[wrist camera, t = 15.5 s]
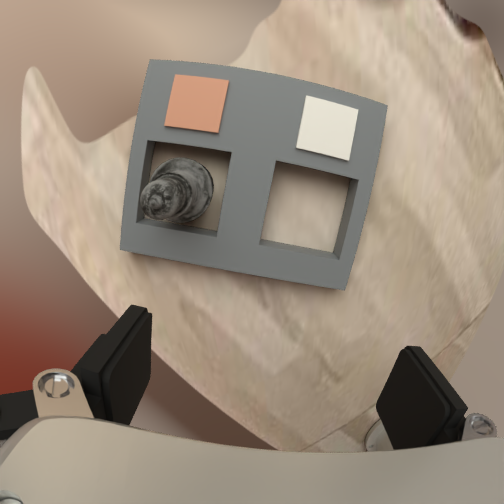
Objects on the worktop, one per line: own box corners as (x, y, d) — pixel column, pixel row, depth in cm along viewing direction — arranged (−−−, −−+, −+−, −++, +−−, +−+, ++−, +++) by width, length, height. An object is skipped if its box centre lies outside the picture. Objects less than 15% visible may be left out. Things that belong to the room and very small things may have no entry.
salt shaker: (224, 205, 31) (210, 232, 20) (170, 223, 32) (129, 259, 20) (205, 149, 30) (180, 143, 18) (151, 169, 30) (99, 177, 18)
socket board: (338, 281, 33) (346, 291, 31) (128, 243, 32) (118, 250, 29) (378, 108, 28) (389, 104, 25) (157, 66, 27) (148, 58, 24)
